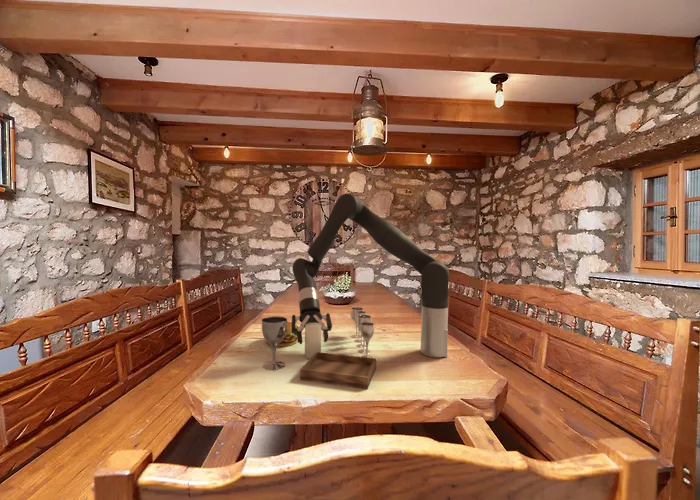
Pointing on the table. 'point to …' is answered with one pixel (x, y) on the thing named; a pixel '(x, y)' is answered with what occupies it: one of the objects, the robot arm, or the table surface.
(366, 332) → the goblet set
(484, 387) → the table surface
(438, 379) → the table surface
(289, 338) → the food
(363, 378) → the serving tray
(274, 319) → the wine glass
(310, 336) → the dome-topped cylinder
